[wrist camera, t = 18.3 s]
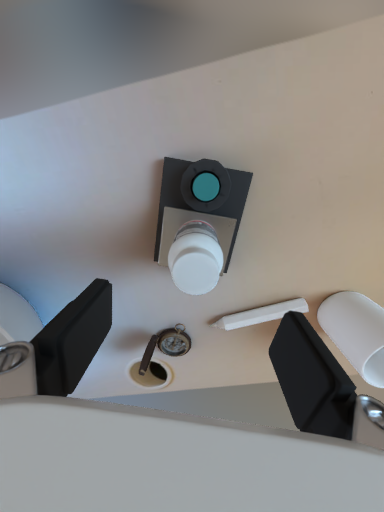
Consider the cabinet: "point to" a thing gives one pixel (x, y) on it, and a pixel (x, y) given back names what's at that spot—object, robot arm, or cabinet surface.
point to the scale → (182, 196)
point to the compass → (166, 346)
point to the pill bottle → (195, 258)
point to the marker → (261, 314)
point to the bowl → (17, 317)
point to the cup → (356, 332)
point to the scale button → (206, 187)
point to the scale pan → (180, 216)
